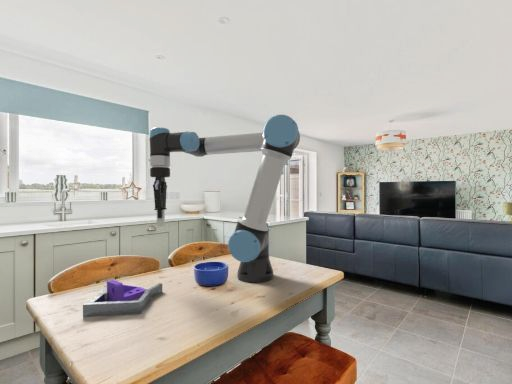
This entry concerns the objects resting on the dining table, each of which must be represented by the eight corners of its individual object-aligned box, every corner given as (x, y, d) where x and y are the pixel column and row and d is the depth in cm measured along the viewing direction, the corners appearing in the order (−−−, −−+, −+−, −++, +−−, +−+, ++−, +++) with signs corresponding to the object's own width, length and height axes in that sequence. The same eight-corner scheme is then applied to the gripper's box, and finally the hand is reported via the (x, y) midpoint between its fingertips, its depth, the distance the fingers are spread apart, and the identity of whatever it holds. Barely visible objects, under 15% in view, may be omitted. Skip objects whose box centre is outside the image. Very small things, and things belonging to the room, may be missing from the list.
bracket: (117, 306, 88) (117, 285, 88) (107, 302, 92) (106, 281, 92) (151, 295, 98) (151, 275, 98) (140, 291, 102) (140, 272, 102)
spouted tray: (162, 291, 101) (162, 281, 101) (147, 313, 82) (147, 301, 82) (104, 293, 99) (104, 284, 99) (75, 317, 80) (75, 305, 80)
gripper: (154, 168, 118) (155, 224, 118) (145, 165, 105) (146, 228, 105) (173, 168, 118) (173, 224, 118) (166, 165, 105) (166, 228, 105)
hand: (160, 226), depth 111 cm, fingers closed
